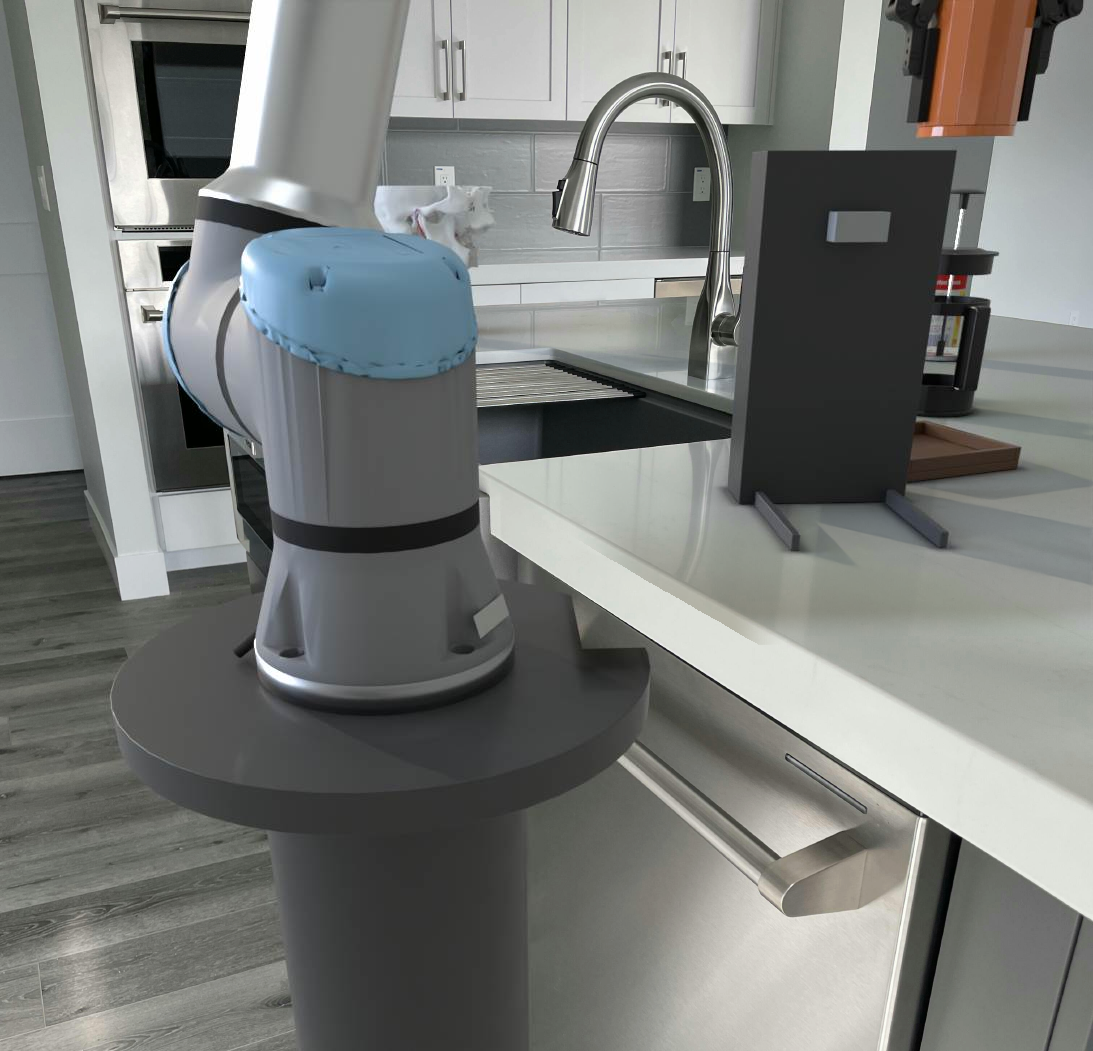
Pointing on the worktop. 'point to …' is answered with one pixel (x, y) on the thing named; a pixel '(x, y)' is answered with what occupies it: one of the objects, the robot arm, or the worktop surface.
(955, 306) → the french press
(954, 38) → the cup
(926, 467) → the tray
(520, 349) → the worktop surface
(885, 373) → the standing panel with handle
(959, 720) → the worktop surface
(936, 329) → the canned food
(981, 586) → the worktop surface
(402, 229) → the skull
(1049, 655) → the worktop surface
